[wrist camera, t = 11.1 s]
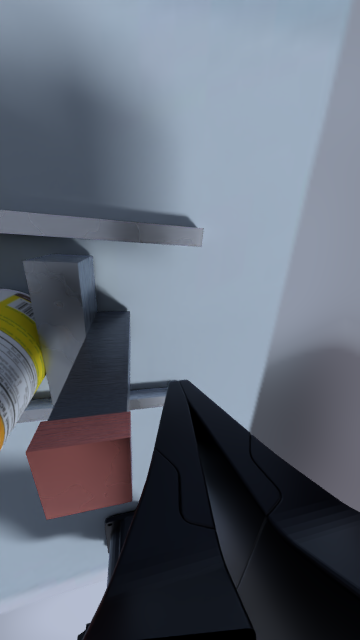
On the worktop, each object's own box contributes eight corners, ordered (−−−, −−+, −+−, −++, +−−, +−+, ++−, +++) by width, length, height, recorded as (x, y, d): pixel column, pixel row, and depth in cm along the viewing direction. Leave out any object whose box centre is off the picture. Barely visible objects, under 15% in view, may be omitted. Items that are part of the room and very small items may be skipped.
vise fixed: (182, 394, 17) (194, 430, 14) (-113, 425, 13) (-192, 487, 10) (198, 229, 12) (221, 226, 9) (-265, 187, 8) (-521, 155, 5)
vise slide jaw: (132, 382, 15) (133, 557, 7) (74, 387, 14) (-5, 595, 6) (130, 257, 12) (126, 307, 4) (53, 253, 11) (-191, 308, 3)
